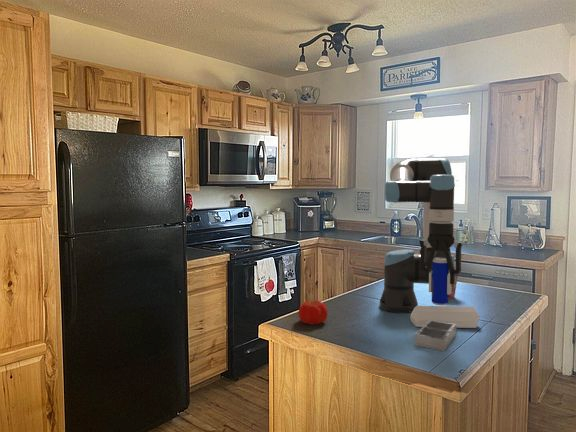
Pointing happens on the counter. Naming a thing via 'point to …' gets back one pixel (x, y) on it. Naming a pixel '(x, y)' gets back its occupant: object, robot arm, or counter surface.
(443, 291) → the beverage can
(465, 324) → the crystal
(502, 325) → the counter surface
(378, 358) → the counter surface
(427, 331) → the divided tray
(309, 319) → the tomato
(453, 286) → the cup
